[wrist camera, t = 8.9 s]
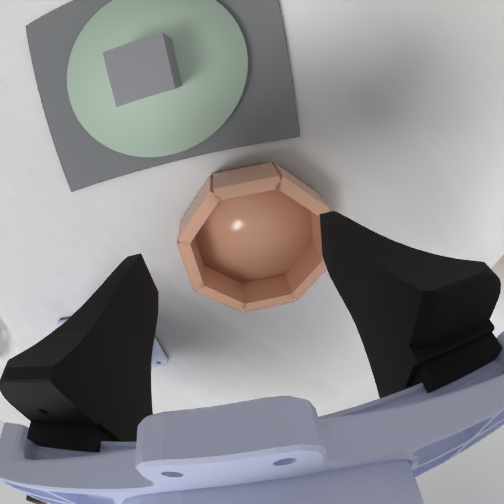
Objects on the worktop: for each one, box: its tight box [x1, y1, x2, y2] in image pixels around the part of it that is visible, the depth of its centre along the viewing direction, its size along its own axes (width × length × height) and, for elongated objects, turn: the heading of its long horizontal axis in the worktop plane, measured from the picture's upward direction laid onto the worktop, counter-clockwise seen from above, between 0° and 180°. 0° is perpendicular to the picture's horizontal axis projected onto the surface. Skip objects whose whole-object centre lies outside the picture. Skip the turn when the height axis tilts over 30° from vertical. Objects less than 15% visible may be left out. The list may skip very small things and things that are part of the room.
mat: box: [26, 0, 300, 192], centre depth 16 cm, size 16×13×1 cm
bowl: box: [177, 162, 331, 312], centre depth 22 cm, size 10×10×3 cm
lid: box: [67, 0, 248, 157], centre depth 14 cm, size 11×11×4 cm
